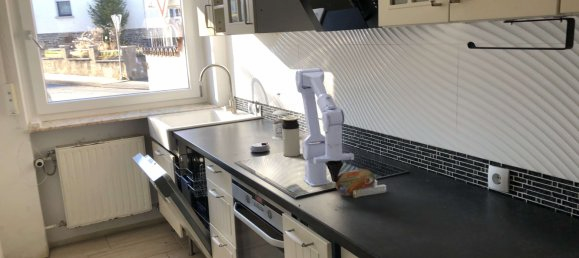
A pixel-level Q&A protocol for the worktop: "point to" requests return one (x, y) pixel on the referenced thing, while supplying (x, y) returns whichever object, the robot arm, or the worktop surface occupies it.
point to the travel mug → (291, 136)
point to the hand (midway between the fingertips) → (334, 181)
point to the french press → (278, 124)
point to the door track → (369, 190)
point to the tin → (354, 181)
